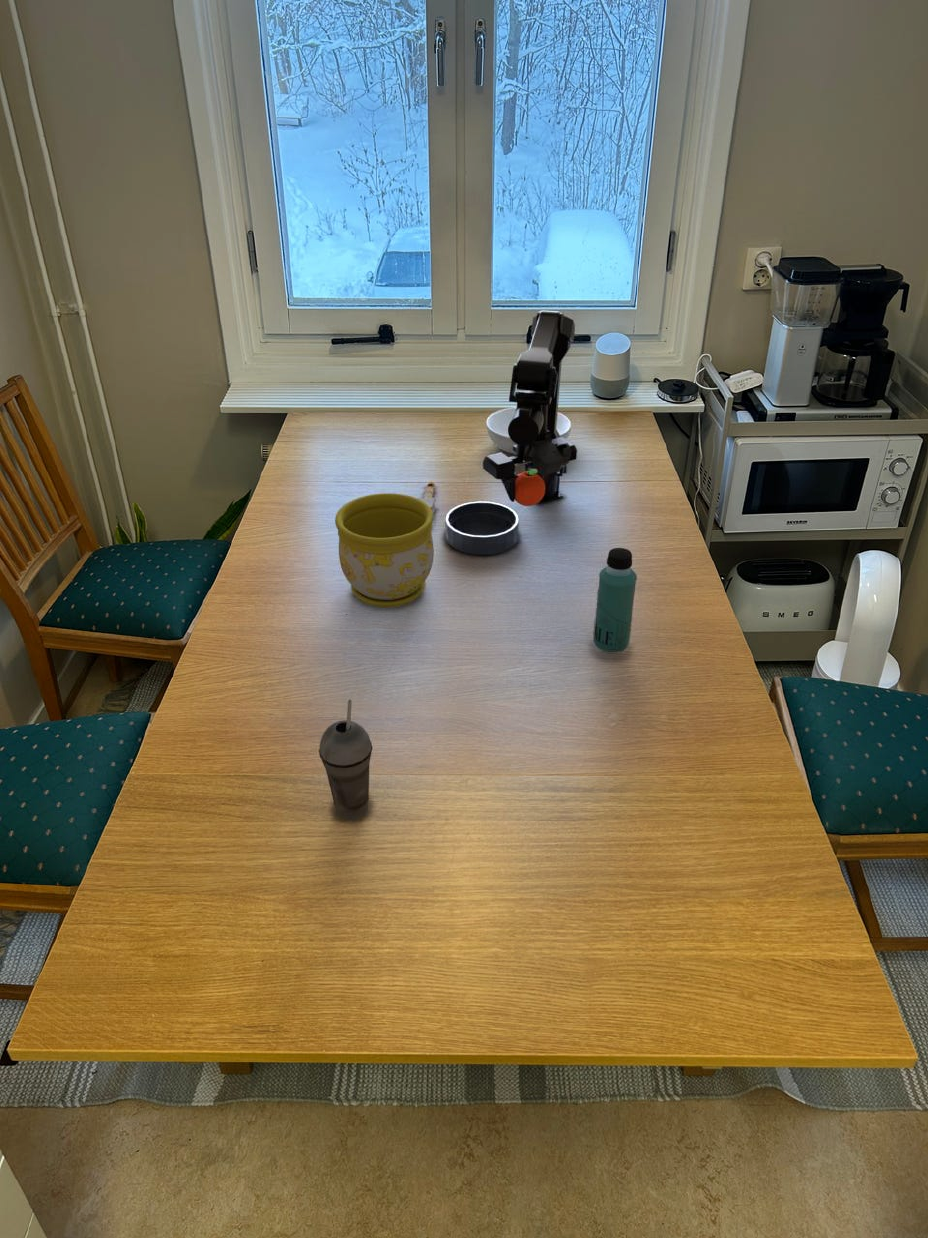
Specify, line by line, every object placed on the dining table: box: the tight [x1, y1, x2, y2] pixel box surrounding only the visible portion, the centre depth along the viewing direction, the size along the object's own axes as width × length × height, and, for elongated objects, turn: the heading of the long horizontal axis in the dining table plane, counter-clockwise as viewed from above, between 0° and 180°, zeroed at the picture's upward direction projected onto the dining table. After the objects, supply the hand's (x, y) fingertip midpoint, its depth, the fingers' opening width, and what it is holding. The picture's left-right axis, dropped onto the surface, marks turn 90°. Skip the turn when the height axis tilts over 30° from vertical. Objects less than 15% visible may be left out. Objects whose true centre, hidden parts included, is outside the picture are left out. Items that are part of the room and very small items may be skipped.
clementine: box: [514, 470, 545, 507], centre depth 184 cm, size 8×7×7 cm
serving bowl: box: [485, 406, 572, 455], centre depth 229 cm, size 21×21×7 cm
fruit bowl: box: [444, 500, 520, 556], centre depth 193 cm, size 15×15×4 cm
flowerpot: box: [334, 492, 435, 609], centre depth 173 cm, size 18×18×16 cm
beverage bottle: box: [592, 547, 638, 654], centre depth 156 cm, size 6×7×20 cm
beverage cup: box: [318, 699, 373, 821], centre depth 126 cm, size 7×7×20 cm
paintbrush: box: [417, 481, 436, 514], centre depth 204 cm, size 4×3×20 cm
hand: (529, 496), depth 186 cm, fingers closed on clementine, 8 cm apart
